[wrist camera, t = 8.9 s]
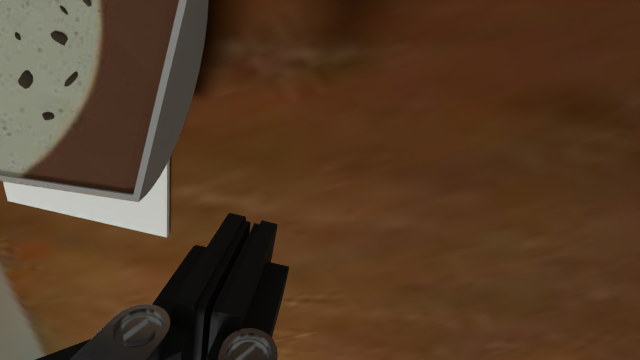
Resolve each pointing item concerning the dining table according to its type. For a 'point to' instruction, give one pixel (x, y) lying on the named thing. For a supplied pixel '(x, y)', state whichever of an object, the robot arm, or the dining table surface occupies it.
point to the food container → (96, 91)
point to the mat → (103, 205)
